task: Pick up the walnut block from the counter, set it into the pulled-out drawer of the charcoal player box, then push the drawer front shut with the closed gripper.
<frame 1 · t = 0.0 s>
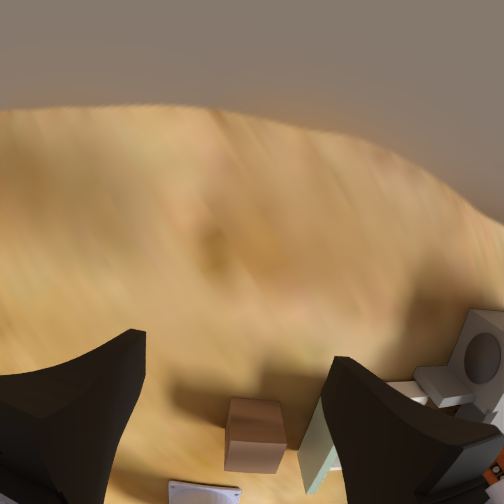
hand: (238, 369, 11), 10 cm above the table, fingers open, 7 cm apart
drawer: (366, 439, 22), point 3 cm above the table, slide at 9.0 cm
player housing: (429, 411, 25), on the table
radio cassette player: (453, 471, 31), on the table
walnut block: (251, 415, 24), on the table
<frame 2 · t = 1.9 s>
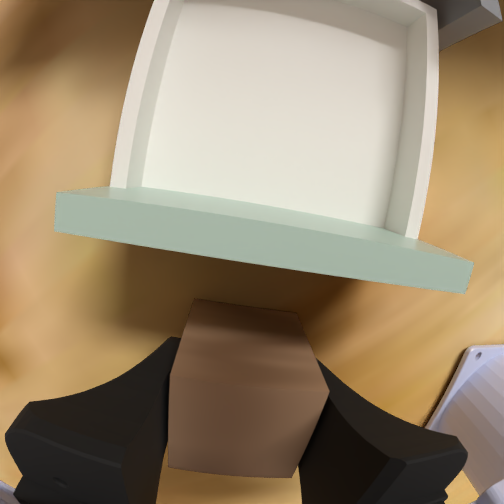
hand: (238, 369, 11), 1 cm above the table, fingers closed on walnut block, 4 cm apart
drawer: (298, 72, 7), point 3 cm above the table, slide at 9.0 cm
walnut block: (238, 349, 12), on the table, touching gripper
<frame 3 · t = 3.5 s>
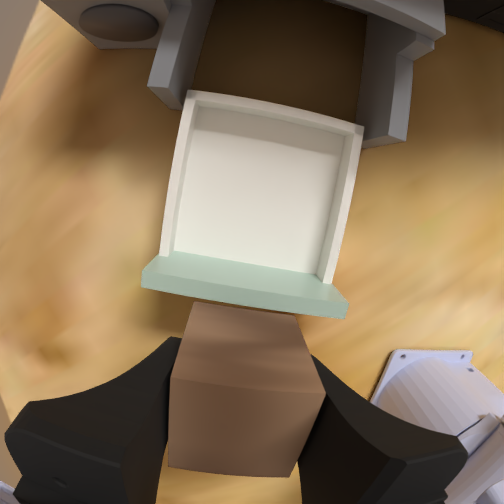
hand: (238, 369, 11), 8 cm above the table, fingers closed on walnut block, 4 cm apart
drawer: (261, 195, 15), point 3 cm above the table, slide at 9.0 cm
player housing: (285, 51, 16), on the table
walnut block: (236, 351, 12), point 7 cm above the table, touching gripper
when the fingers open (4 cm above the table, at t = 5.1 s): walnut block stays where it is, resting on drawer.
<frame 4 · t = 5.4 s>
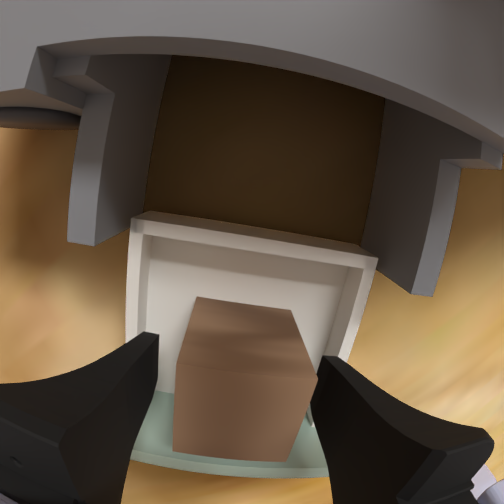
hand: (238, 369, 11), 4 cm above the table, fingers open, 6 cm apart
drawer: (238, 355, 12), point 3 cm above the table, slide at 9.0 cm, touching walnut block
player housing: (272, 126, 12), on the table
walnut block: (236, 344, 13), point 1 cm above the table, touching drawer
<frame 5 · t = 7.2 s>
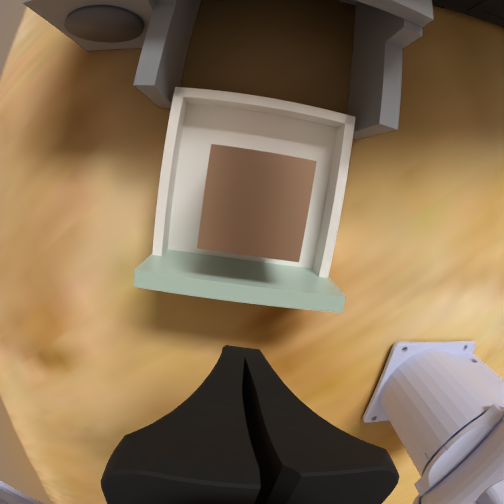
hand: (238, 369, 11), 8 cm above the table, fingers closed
drawer: (253, 189, 15), point 3 cm above the table, slide at 9.0 cm, touching walnut block
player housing: (273, 44, 16), on the table
walnut block: (250, 196, 16), point 1 cm above the table, touching drawer
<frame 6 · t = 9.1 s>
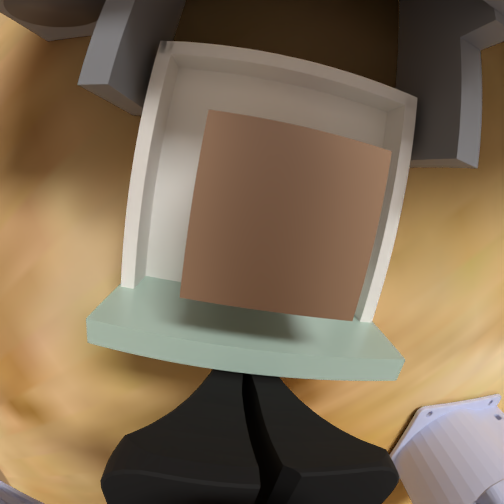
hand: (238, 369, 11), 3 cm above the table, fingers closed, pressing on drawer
drawer: (273, 194, 10), point 3 cm above the table, slide at 7.3 cm, touching gripper, walnut block
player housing: (293, 30, 11), on the table
walnut block: (266, 202, 11), point 1 cm above the table, touching drawer
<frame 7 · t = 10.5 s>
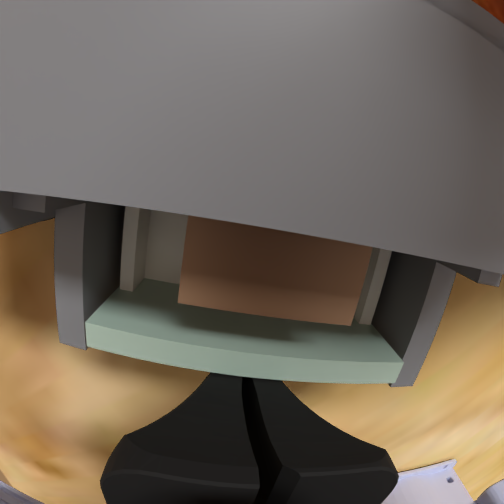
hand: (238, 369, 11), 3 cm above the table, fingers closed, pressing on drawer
drawer: (271, 196, 10), point 3 cm above the table, slide at -0.3 cm, touching gripper, walnut block
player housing: (262, 197, 12), on the table
walnut block: (264, 204, 11), point 1 cm above the table, touching drawer
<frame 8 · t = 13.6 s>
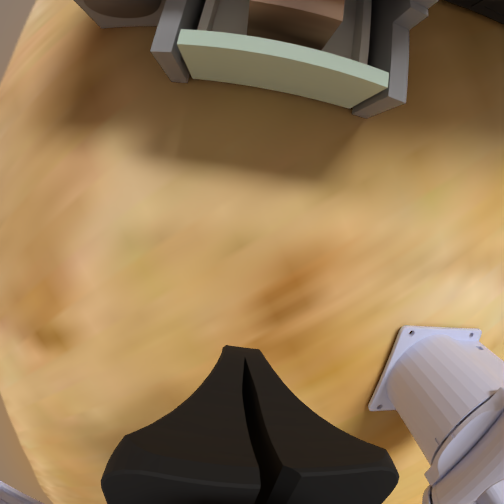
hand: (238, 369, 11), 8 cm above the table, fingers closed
drawer: (291, 5, 13), point 3 cm above the table, slide at 0.0 cm, touching walnut block
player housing: (284, 26, 15), on the table
walnut block: (286, 23, 14), point 1 cm above the table, touching drawer
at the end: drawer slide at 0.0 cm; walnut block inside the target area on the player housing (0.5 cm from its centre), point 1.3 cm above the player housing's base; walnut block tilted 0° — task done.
